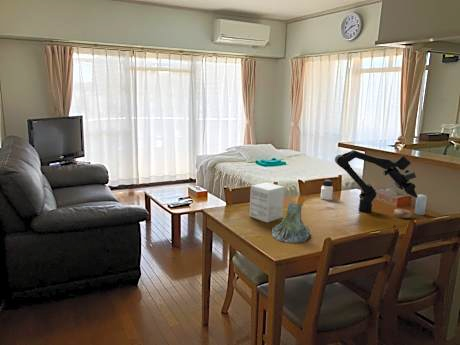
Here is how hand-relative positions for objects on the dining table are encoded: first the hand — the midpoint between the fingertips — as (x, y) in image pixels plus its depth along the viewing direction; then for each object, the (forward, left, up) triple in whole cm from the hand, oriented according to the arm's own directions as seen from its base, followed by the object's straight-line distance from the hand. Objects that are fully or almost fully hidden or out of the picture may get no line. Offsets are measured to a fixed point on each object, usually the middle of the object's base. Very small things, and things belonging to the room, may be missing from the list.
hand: (413, 195), depth 215 cm
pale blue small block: (+5, +1, -11) cm, 12 cm away
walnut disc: (-6, -8, -11) cm, 15 cm away
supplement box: (-80, -36, -11) cm, 89 cm away
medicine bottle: (-48, +16, -11) cm, 52 cm away
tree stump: (-65, -59, -11) cm, 88 cm away
